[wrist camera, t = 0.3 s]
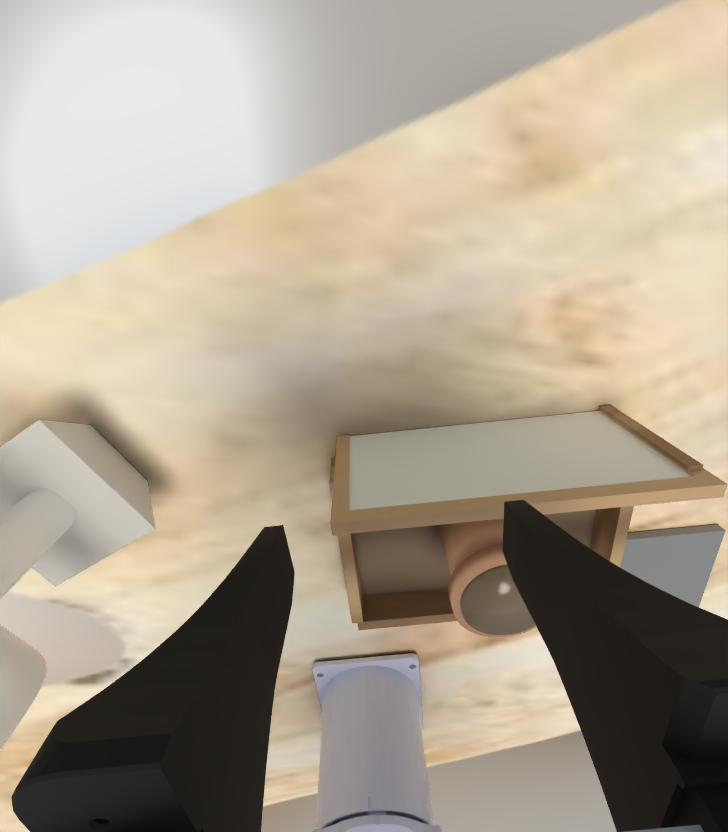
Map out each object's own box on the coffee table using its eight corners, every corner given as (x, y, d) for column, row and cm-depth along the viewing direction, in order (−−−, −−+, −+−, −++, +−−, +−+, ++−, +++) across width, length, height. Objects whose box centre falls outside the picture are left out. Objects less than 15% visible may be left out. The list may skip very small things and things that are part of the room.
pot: (515, 551, 26) (558, 635, 20) (431, 559, 26) (453, 645, 20) (520, 481, 23) (571, 555, 18) (429, 491, 23) (452, 566, 18)
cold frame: (589, 575, 27) (654, 667, 22) (353, 598, 28) (353, 695, 22) (621, 403, 22) (717, 463, 16) (327, 433, 22) (319, 503, 16)
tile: (691, 601, 29) (698, 608, 28) (594, 610, 29) (599, 617, 28) (717, 524, 26) (725, 530, 25) (609, 534, 26) (614, 541, 25)
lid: (609, 417, 22) (723, 496, 16) (338, 445, 23) (332, 535, 16) (611, 407, 22) (727, 484, 15) (337, 435, 22) (330, 523, 16)
